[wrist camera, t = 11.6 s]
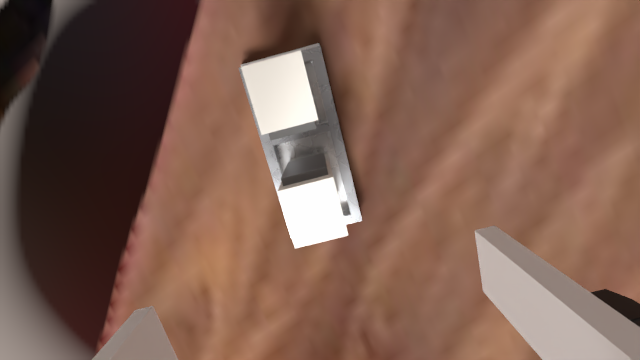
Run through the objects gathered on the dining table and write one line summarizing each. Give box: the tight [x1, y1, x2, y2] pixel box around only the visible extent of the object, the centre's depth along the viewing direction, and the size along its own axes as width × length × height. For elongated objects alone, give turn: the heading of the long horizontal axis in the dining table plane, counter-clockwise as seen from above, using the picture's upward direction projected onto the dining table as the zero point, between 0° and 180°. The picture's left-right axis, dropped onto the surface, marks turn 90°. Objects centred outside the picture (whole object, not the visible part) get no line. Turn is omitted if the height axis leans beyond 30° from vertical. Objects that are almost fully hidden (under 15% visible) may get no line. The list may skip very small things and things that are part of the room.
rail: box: [239, 43, 362, 238], centre depth 30 cm, size 18×8×2 cm, turn 14°
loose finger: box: [277, 153, 348, 248], centre depth 26 cm, size 4×5×10 cm
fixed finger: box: [241, 50, 318, 141], centre depth 25 cm, size 4×5×10 cm
